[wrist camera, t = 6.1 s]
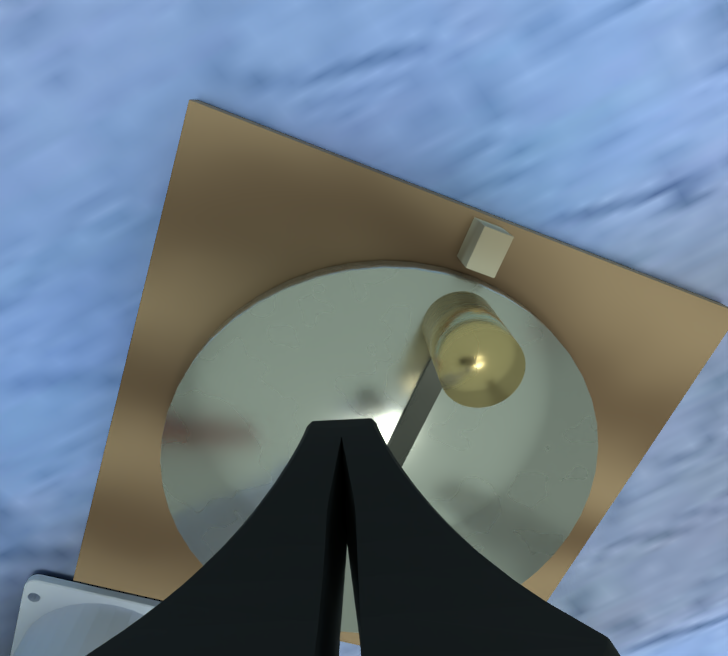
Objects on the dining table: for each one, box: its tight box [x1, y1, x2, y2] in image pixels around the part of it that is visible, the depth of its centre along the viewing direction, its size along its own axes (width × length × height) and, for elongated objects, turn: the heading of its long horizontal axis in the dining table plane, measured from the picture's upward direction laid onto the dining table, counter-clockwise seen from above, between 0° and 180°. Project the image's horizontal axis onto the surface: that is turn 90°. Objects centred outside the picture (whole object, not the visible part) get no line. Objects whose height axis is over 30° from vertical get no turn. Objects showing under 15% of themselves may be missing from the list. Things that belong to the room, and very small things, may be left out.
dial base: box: [73, 100, 728, 645], centre depth 21 cm, size 20×20×2 cm
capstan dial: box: [160, 260, 598, 633], centre depth 19 cm, size 16×16×4 cm
